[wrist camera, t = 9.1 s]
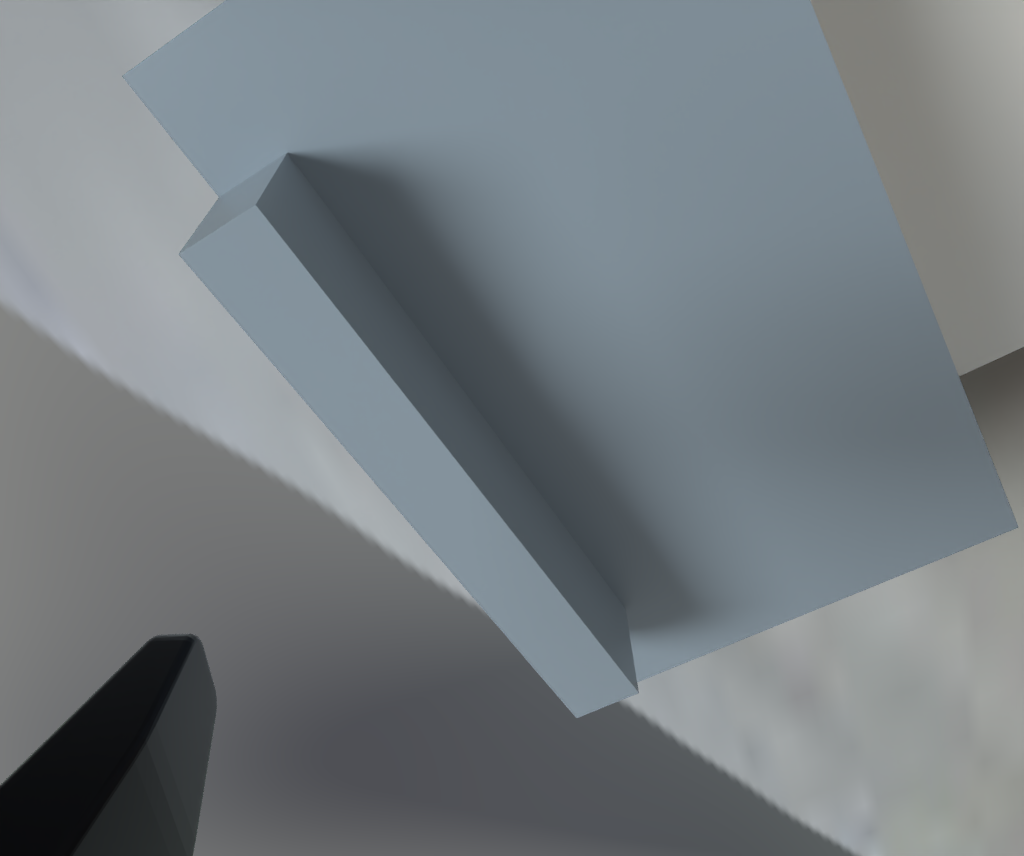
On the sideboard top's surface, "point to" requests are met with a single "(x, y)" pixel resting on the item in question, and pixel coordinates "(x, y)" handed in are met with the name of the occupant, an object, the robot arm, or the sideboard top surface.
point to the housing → (946, 150)
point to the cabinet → (587, 305)
